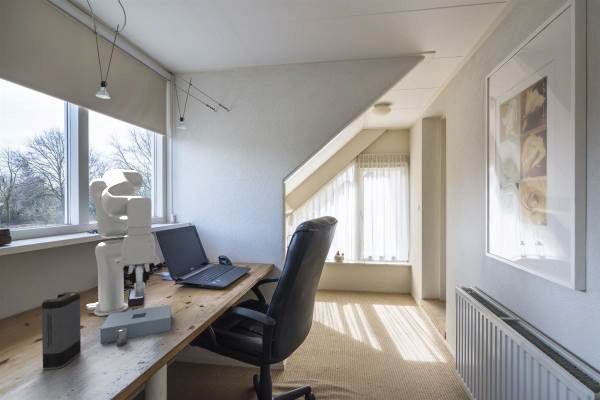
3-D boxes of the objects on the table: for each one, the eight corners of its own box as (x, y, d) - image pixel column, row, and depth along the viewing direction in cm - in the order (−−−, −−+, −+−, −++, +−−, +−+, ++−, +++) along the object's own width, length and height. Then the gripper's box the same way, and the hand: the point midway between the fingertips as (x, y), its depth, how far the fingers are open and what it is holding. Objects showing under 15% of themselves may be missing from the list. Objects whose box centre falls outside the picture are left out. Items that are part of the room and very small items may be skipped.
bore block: (100, 343, 96) (100, 328, 96) (109, 326, 109) (109, 313, 109) (170, 330, 105) (169, 317, 105) (171, 316, 118) (170, 304, 118)
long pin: (133, 297, 96) (133, 260, 96) (135, 294, 99) (135, 258, 99) (144, 296, 98) (144, 259, 97) (145, 293, 101) (145, 257, 100)
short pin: (115, 347, 93) (115, 332, 93) (117, 343, 96) (117, 328, 96) (126, 345, 94) (126, 330, 94) (128, 341, 97) (127, 327, 97)
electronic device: (63, 353, 90) (63, 292, 90) (83, 352, 91) (82, 291, 91) (39, 370, 81) (38, 302, 81) (61, 369, 81) (60, 301, 81)
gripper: (109, 234, 91) (109, 289, 92) (164, 231, 98) (164, 283, 98) (114, 231, 98) (114, 282, 99) (165, 229, 105) (165, 277, 105)
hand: (139, 282), depth 98 cm, fingers closed on long pin, 3 cm apart
